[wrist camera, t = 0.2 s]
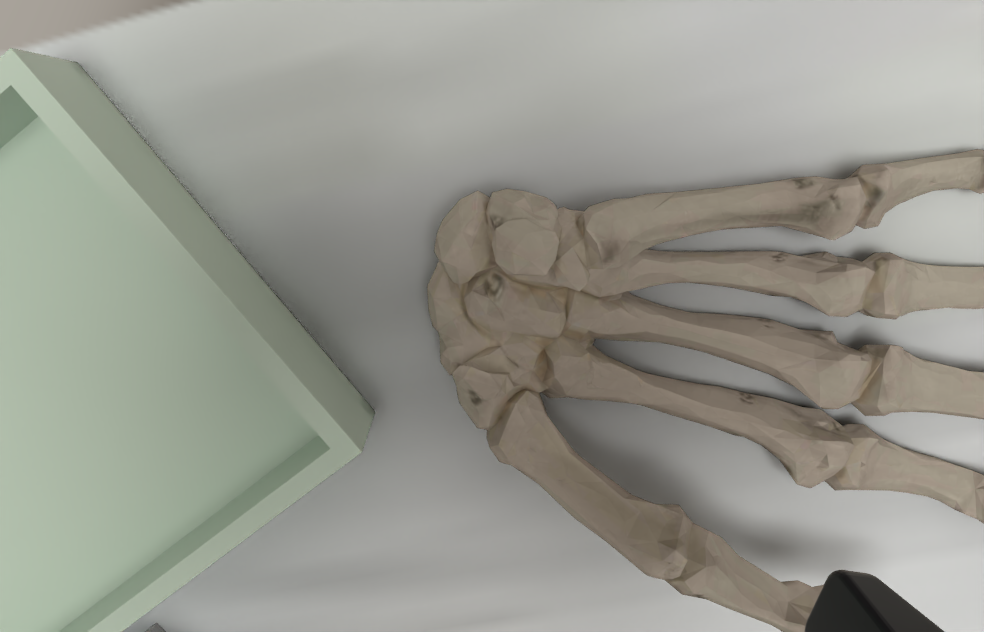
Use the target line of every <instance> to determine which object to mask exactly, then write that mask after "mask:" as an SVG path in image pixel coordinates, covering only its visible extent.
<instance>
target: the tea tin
mask: <svg viewBox="0 0 984 632" xmlns="http://www.w3.org/2000/svg"><path fill="white" fill-rule="evenodd" d="M145 632H166V631H165V630H164V629H163V628H162V627H161V626H160V625H159V624H158V623H156V624H154V625H153V626H152V627H150V628H149V629H148V630H146V631H145Z"/></svg>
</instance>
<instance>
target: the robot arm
mask: <svg viewBox="0 0 984 632" xmlns="http://www.w3.org/2000/svg"><path fill="white" fill-rule="evenodd" d="M805 632H944V631H943V630H942V629H940V628H939V627H938V626H937V625H935V624H934V623H933V622H932V621H930V620H929V619H928V618H927V617H925V616H924V615H923V614H922V613H920V612H919V611H918V610H917V609H915V608H914V607H913V606H912V605H910V604H909V603H908V602H907V601H905V600H904V599H903V598H902V597H900V596H899V595H898V594H897V593H895V592H894V591H893V590H892V589H890V588H889V587H888V586H887V585H885V584H884V583H883V582H882V581H880V580H879V579H878V578H876V577H875V576H873V575H870V574H867V573H860V572H853V571H846V570H837V571H834V572H833V573H831V574H830V575H829V576H828V578H827V580H826V582H825V584H824V586H823V588H822V590H821V592H820V594H819V596H818V598H817V600H816V602H815V605H814V607H813V609H812V611H811V613H810V615H809V617H808V619H807V622H806V626H805Z"/></svg>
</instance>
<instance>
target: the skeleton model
mask: <svg viewBox="0 0 984 632" xmlns="http://www.w3.org/2000/svg"><path fill="white" fill-rule="evenodd" d="M954 188H961V189H970V190H972V191H975V192H977V193H979V194H980V193H984V150H978V149H976V150H971V151H966V152H962V153H957V154H950V155H942V156H934V157H927V158H920V159H913V160H907V161H900V162H893V163H887V164H868V165H862V166H861V167H860V168H858V169H857V170H856V171H855V172H854V173H853V174H852V175H850V176H849V177H848V178H846V179H829V178H823V177H817V176H813V177H801V178H792V179H785V180H779V181H773V182H767V183H760V184H752V185H742V186H732V187H722V188H713V189H703V190H693V191H682V192H669V193H653V194H644V195H640V196H636V197H632V198H626V199H611V200H608V201H605V202H602V203H598V204H595V205H592V206H589V207H588V208H587V209H586V210H585V211H577V210H569V209H567V208H565V207H562V208H559V209H557V207H556V206H555V204H554V203H553V202H551V201H550V200H549V199H548V198H546V197H543V196H540V195H536V194H533V193H529V192H526V191H519V190H512V189H504V190H500V191H496V192H492V195H491V197H488V196H486V195H485V194H483V193H481V192H479V191H476V192H474V193H472V194H470V195H468V196H466V197H464V198H462V199H460V200H459V201H458V202H457V203H456V205H455V206H454V207H453V208H452V209H451V211H450V212H449V213H448V214H447V215H446V217H445V218H444V219H443V220H442V222H441V225H440V227H439V230H438V232H437V236H436V242H435V247H434V252H435V254H436V256H437V258H438V260H439V262H438V264H437V266H436V268H435V270H434V273H433V275H432V277H431V279H430V282H429V284H428V286H427V292H428V309H429V313H430V318H431V322H432V326H433V327H434V328H435V329H436V330H437V331H438V333H439V338H440V362H441V364H442V365H443V367H444V368H445V369H446V371H447V372H448V373H449V375H453V378H454V381H455V384H456V386H457V395H458V398H459V402H460V404H461V406H462V407H463V409H464V410H465V411H466V413H467V414H468V416H469V417H470V418H471V420H472V421H473V423H474V424H475V425H476V427H477V428H480V429H486V430H487V440H488V444H489V447H490V449H491V450H492V452H493V453H494V454H495V456H496V457H497V459H498V460H499V462H502V463H505V464H509V465H512V466H513V467H515V468H516V469H518V470H519V471H521V472H522V473H524V474H525V475H526V476H528V477H529V478H531V479H532V480H534V481H535V482H536V483H538V484H539V485H540V486H541V487H542V488H543V489H544V490H545V491H547V492H548V493H549V494H550V495H551V496H552V497H553V498H554V499H555V500H556V501H557V502H558V503H559V504H560V505H561V506H562V507H563V508H564V509H565V510H567V511H568V512H569V513H570V514H571V515H572V516H573V517H574V518H575V519H577V520H578V521H579V522H581V523H582V524H583V525H585V526H586V527H587V528H589V529H590V530H591V531H593V532H594V533H595V534H597V535H598V536H600V537H601V538H602V539H604V540H605V541H606V542H607V543H609V544H610V545H611V546H612V547H613V548H615V549H616V550H617V551H618V552H619V553H621V554H622V555H623V556H624V557H625V558H627V559H628V560H629V561H630V562H631V563H633V564H634V565H635V566H636V567H637V568H639V569H640V570H641V571H642V572H643V573H645V574H646V575H647V576H651V577H654V578H658V579H663V580H665V581H667V582H668V583H669V584H670V585H671V586H673V587H674V588H675V589H676V590H677V591H679V592H680V593H681V594H683V595H688V596H693V597H698V598H703V599H707V600H710V601H712V602H714V603H717V604H719V605H722V606H724V607H726V608H729V609H731V610H734V611H737V612H739V613H742V614H744V615H747V616H750V617H752V618H755V619H757V620H760V621H763V622H765V623H768V624H770V625H772V626H774V627H776V628H778V629H779V630H781V631H783V632H805V626H806V622H807V619H808V617H809V615H810V613H811V611H812V609H813V607H814V605H815V602H816V600H817V598H818V596H819V594H820V592H821V590H822V588H823V586H824V585H820V586H815V587H811V586H809V585H807V584H805V583H802V582H800V581H786V582H780V581H778V580H777V579H775V578H773V577H772V576H770V575H769V574H767V573H765V572H764V571H762V570H761V569H759V568H758V567H756V566H754V565H753V564H751V563H750V562H748V561H746V560H745V559H743V558H742V557H740V556H738V555H737V553H736V552H735V551H734V550H733V549H732V548H731V547H730V546H729V545H728V544H727V543H726V542H725V541H724V540H723V539H722V537H720V536H718V535H716V534H714V533H712V532H710V531H708V530H706V529H704V528H702V527H700V526H698V525H696V524H694V523H692V521H691V520H690V519H689V517H688V516H687V515H686V514H685V512H684V511H683V510H682V508H681V507H680V506H679V505H672V504H654V503H651V502H649V501H646V500H644V499H641V498H639V497H636V496H633V495H631V494H630V493H628V492H627V491H626V490H624V489H623V488H622V487H620V486H619V485H618V484H616V483H615V482H614V481H612V480H611V479H610V478H608V477H607V476H606V475H604V474H603V473H602V472H600V471H599V470H598V469H596V468H595V467H594V466H592V465H591V464H590V463H588V462H587V461H586V460H584V459H583V458H582V457H581V456H579V455H578V454H577V453H576V452H575V451H574V450H573V449H572V448H571V446H570V445H569V444H568V442H567V441H566V440H565V438H564V437H563V436H562V434H561V433H560V432H559V430H558V429H557V428H556V427H555V425H554V424H553V423H552V421H551V420H550V419H549V417H548V415H547V412H546V410H545V407H544V404H543V402H542V399H541V396H540V394H539V393H540V392H542V393H543V394H545V395H546V396H547V397H548V398H562V397H570V398H578V399H586V400H600V401H614V402H624V403H633V404H638V405H642V406H645V407H648V408H652V409H655V410H658V411H661V412H664V413H667V414H670V415H674V416H677V417H680V418H684V419H687V420H690V421H694V422H697V423H700V424H704V425H707V426H710V427H713V428H716V429H719V430H721V431H724V432H727V433H730V434H733V435H736V436H742V437H745V438H747V439H749V440H752V441H754V442H756V443H758V444H760V445H762V446H763V447H764V448H766V449H767V450H768V451H769V452H771V453H772V454H773V455H775V456H776V457H777V458H779V460H780V461H781V462H782V464H783V465H784V467H785V468H786V469H787V471H788V472H789V474H790V475H791V476H792V478H793V479H794V481H795V482H796V483H797V485H801V486H804V487H808V488H812V487H814V486H816V485H817V484H819V483H821V482H823V481H825V482H826V483H828V484H829V485H830V486H831V487H832V488H833V489H834V490H890V491H898V492H906V493H912V494H917V495H923V496H928V497H931V498H933V499H936V500H939V501H941V502H943V503H945V504H946V505H948V506H950V507H951V508H953V509H955V510H957V511H959V512H962V513H964V514H966V515H969V516H971V517H974V518H976V519H978V520H979V521H981V522H982V523H984V475H983V474H980V473H978V472H975V471H972V470H969V469H966V468H963V467H960V466H957V465H954V464H951V463H949V462H946V461H943V460H941V459H938V458H936V457H932V456H928V455H925V454H921V453H917V452H914V451H911V450H908V449H905V448H902V447H899V446H897V445H895V444H893V443H891V442H888V441H886V440H884V439H882V438H881V437H879V436H878V435H877V434H876V433H874V432H873V431H872V430H871V429H869V428H868V427H867V426H866V425H864V424H846V425H843V426H842V425H841V424H839V423H838V422H837V421H835V420H834V419H833V418H832V417H830V416H829V415H828V414H826V413H825V412H824V411H823V410H821V409H814V408H806V407H800V406H797V405H793V404H790V403H787V402H783V401H780V400H777V399H773V398H769V397H764V396H758V395H753V394H748V393H744V392H740V391H736V390H732V389H728V388H724V387H719V386H711V385H704V384H697V383H691V382H685V381H680V380H676V379H671V378H666V377H661V376H656V375H652V374H648V373H645V372H642V371H639V370H636V369H634V368H632V367H630V366H628V365H625V364H623V363H621V362H619V361H617V360H614V359H612V358H610V357H608V356H606V355H605V354H603V353H602V352H601V351H600V350H598V349H597V348H596V347H595V346H594V345H593V343H594V341H595V338H597V339H608V340H618V341H646V342H661V343H666V344H671V345H675V346H680V347H685V348H689V349H694V350H698V351H703V352H706V353H709V354H712V355H715V356H718V357H721V358H724V359H727V360H730V361H733V362H735V363H738V364H741V365H744V366H747V367H750V368H753V369H756V370H759V371H762V372H765V373H768V374H770V375H772V376H774V377H776V378H778V379H780V380H782V381H784V382H786V383H788V384H790V385H792V386H794V387H796V388H797V389H798V390H800V391H801V392H802V393H803V394H805V395H806V396H807V397H808V398H809V399H811V400H812V401H813V402H814V403H816V404H817V405H818V406H819V407H821V408H822V409H839V408H841V407H843V406H845V405H847V404H849V403H852V404H853V405H854V406H855V407H856V408H857V409H858V410H859V411H860V412H862V413H863V414H864V415H865V416H885V415H887V414H889V413H892V412H930V413H940V414H948V415H956V416H963V417H971V418H978V419H984V372H975V371H966V370H963V369H959V368H955V367H951V366H947V365H943V364H939V363H935V362H931V361H927V360H923V359H919V358H917V357H915V356H913V355H912V354H910V353H908V352H906V351H905V350H903V347H900V346H896V345H864V346H863V347H861V348H860V349H858V350H855V349H853V348H850V347H848V346H845V345H843V344H840V343H838V342H837V340H836V338H835V336H834V333H833V331H817V330H802V329H797V328H794V327H791V326H788V325H785V324H782V323H779V322H776V321H773V320H770V319H762V318H754V317H747V316H739V315H725V314H709V313H694V312H686V311H682V310H678V309H674V308H670V307H666V306H662V305H659V304H656V303H653V302H651V301H648V300H645V299H642V298H640V297H637V296H634V295H632V294H630V293H629V292H628V291H632V290H637V289H642V288H647V287H651V286H656V285H660V284H666V283H686V282H690V283H699V284H708V285H717V286H725V287H732V288H737V289H743V290H748V291H752V292H757V293H762V294H767V295H772V296H784V297H792V298H795V299H798V300H801V301H804V302H807V303H808V304H810V305H812V306H813V307H815V308H817V309H818V310H820V311H821V312H823V313H825V314H826V315H828V316H840V317H848V316H849V315H851V314H853V313H855V312H857V311H859V312H861V313H863V314H865V315H867V316H872V317H876V318H886V319H897V318H898V317H899V316H903V315H905V314H907V313H909V312H913V311H919V310H929V309H939V308H947V307H950V308H960V309H968V308H969V309H980V308H984V267H953V266H935V265H925V264H920V263H914V262H911V261H908V260H905V259H902V258H900V257H898V256H896V255H894V254H892V253H873V254H872V255H871V256H869V257H868V258H866V259H865V260H864V261H862V262H861V261H858V260H855V259H852V258H844V257H836V256H834V255H832V254H830V253H828V252H820V253H815V254H809V255H803V256H797V255H793V254H789V253H784V252H775V251H736V252H666V251H656V250H649V249H648V248H650V247H652V246H654V245H656V244H660V243H663V242H667V241H670V240H674V239H678V238H683V237H687V236H691V235H695V234H700V233H705V232H710V231H715V230H722V229H735V228H753V227H770V226H784V227H788V228H791V229H795V230H799V231H802V232H806V233H810V234H813V235H817V236H821V237H824V238H827V239H829V240H836V239H838V238H840V237H841V236H843V235H845V234H847V233H849V232H851V231H852V230H853V228H854V227H855V225H857V226H859V227H862V228H864V229H867V228H871V227H876V226H878V225H879V223H880V222H881V220H882V218H883V216H884V214H885V213H886V212H887V211H889V210H890V209H892V208H893V207H895V206H896V205H898V204H900V203H902V202H905V201H907V200H909V199H911V198H914V197H916V196H919V195H922V194H925V193H928V192H931V191H934V190H944V189H954Z"/></svg>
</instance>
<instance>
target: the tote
mask: <svg viewBox="0 0 984 632" xmlns="http://www.w3.org/2000/svg"><path fill="white" fill-rule="evenodd" d="M374 414H375V411H374V410H373V409H372V408H371V406H370V405H369V404H368V403H367V402H366V400H365V399H364V398H363V397H362V396H361V395H360V393H359V392H358V391H357V390H356V389H355V388H354V386H353V385H352V384H351V383H350V382H349V381H348V379H347V378H346V377H345V376H344V375H343V373H342V372H341V371H340V370H339V369H338V368H337V366H336V365H335V364H334V363H333V362H332V361H331V359H330V358H329V357H328V356H327V355H326V354H325V352H324V351H323V350H322V349H321V348H320V347H319V345H318V344H317V343H316V342H315V341H314V339H313V338H312V337H311V336H310V335H309V334H308V332H307V331H306V330H305V329H304V328H303V327H302V325H301V324H300V323H299V322H298V321H297V320H296V318H295V317H294V316H293V315H292V314H291V312H290V311H289V310H288V309H287V308H286V307H285V305H284V304H283V303H282V302H281V301H280V300H279V298H278V297H277V296H276V295H275V294H274V293H273V291H272V290H271V289H270V288H269V287H268V285H267V284H266V283H265V282H264V281H263V280H262V278H261V277H260V276H259V275H258V274H257V273H256V271H255V270H254V269H253V268H252V267H251V266H250V264H249V263H248V262H247V261H246V260H245V259H244V257H243V256H242V255H241V254H240V253H239V251H238V250H237V249H236V248H235V247H234V246H233V244H232V243H231V242H230V241H229V240H228V239H227V237H226V236H225V235H224V234H223V233H222V232H221V230H220V229H219V228H218V227H217V226H216V224H215V223H214V222H213V221H212V220H211V219H210V217H209V216H208V215H207V214H206V213H205V212H204V210H203V209H202V208H201V207H200V206H199V205H198V203H197V202H196V201H195V200H194V199H193V198H192V196H191V195H190V194H189V193H188V192H187V190H186V189H185V188H184V187H183V186H182V185H181V183H180V182H179V181H178V180H177V179H176V178H175V176H174V175H173V174H172V173H171V172H170V171H169V169H168V168H167V167H166V166H165V165H164V163H163V162H162V161H161V160H160V159H159V158H158V156H157V155H156V154H155V153H154V152H153V151H152V149H151V148H150V147H149V146H148V145H147V144H146V142H145V141H144V140H143V139H142V138H141V136H140V135H139V134H138V133H137V132H136V131H135V129H134V128H133V127H132V126H131V125H130V124H129V122H128V121H127V120H126V119H125V118H124V117H123V115H122V114H121V113H120V112H119V111H118V110H117V108H116V107H115V106H114V105H113V104H112V102H111V101H110V100H109V99H108V98H107V97H106V95H105V94H104V93H103V92H102V91H101V90H100V88H99V87H98V86H97V85H96V84H95V83H94V81H93V80H92V79H91V78H90V77H89V75H88V74H87V73H86V72H85V71H84V70H83V68H82V67H81V66H80V65H79V64H78V63H77V62H73V61H68V60H63V59H59V58H54V57H50V56H45V55H41V54H36V53H31V52H27V51H22V50H18V49H13V48H10V49H9V50H8V51H7V52H6V53H5V54H3V55H2V56H1V57H0V632H122V631H124V630H125V629H126V628H128V627H129V626H130V625H132V624H133V623H134V622H136V621H137V620H138V619H140V618H141V617H142V616H144V615H145V614H146V613H148V612H149V611H150V610H152V609H153V608H154V607H156V606H157V605H158V604H160V603H161V602H162V601H164V600H165V599H166V598H168V597H169V596H170V595H172V594H173V593H174V592H176V591H177V590H178V589H180V588H181V587H182V586H184V585H185V584H186V583H188V582H189V581H190V580H192V579H193V578H194V577H196V576H197V575H198V574H200V573H201V572H202V571H204V570H205V569H206V568H208V567H209V566H210V565H212V564H213V563H214V562H216V561H217V560H218V559H220V558H221V557H223V556H224V555H225V554H227V553H228V552H229V551H231V550H232V549H233V548H235V547H236V546H237V545H239V544H240V543H241V542H243V541H244V540H245V539H247V538H248V537H249V536H251V535H252V534H253V533H255V532H256V531H257V530H259V529H260V528H261V527H263V526H264V525H265V524H267V523H268V522H269V521H271V520H272V519H273V518H275V517H276V516H277V515H279V514H280V513H281V512H283V511H284V510H285V509H287V508H288V507H289V506H291V505H292V504H293V503H295V502H296V501H297V500H299V499H300V498H301V497H303V496H304V495H305V494H307V493H308V492H309V491H311V490H312V489H313V488H315V487H316V486H317V485H319V484H320V483H321V482H323V481H324V480H326V479H327V478H328V477H330V476H331V475H332V474H334V473H335V472H336V471H338V470H339V469H340V468H342V467H343V466H344V465H346V464H347V463H348V462H350V461H351V460H352V459H354V458H355V457H356V456H358V455H359V454H360V453H362V451H363V448H364V445H365V442H366V439H367V436H368V433H369V430H370V427H371V423H372V420H373V417H374Z"/></svg>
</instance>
